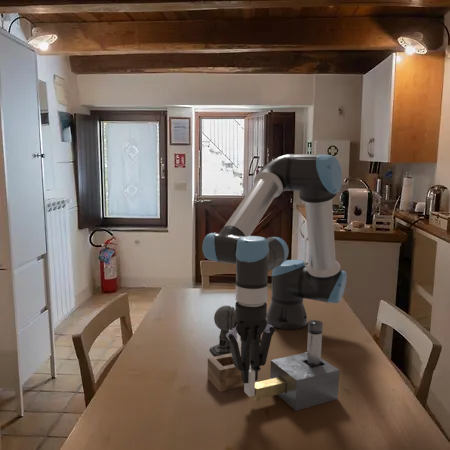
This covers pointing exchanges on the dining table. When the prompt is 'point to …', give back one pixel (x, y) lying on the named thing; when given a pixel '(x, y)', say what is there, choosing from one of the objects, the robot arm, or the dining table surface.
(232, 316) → the figurine
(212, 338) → the dining table surface
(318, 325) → the steel round rod
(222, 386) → the open box
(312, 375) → the socket
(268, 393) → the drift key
